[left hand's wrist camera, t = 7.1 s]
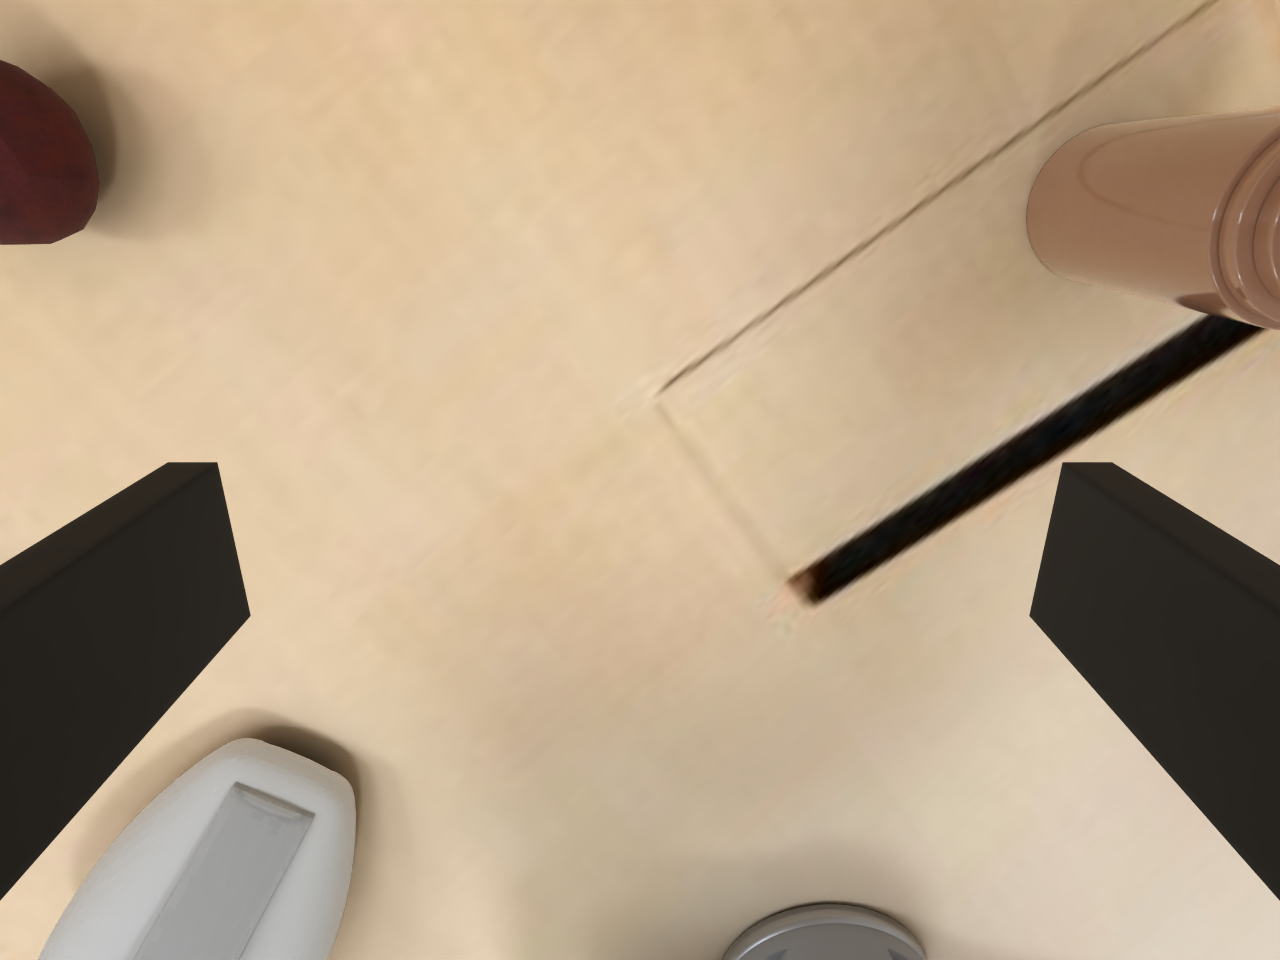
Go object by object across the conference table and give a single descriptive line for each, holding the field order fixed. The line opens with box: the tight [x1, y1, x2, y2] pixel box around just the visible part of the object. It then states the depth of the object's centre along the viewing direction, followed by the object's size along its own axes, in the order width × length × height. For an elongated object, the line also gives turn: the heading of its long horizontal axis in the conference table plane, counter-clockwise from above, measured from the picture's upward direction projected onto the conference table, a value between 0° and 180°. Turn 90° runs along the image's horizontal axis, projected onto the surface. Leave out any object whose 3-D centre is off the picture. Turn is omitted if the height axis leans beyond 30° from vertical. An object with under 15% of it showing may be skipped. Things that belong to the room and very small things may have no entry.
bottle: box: [1026, 106, 1280, 330], centre depth 28 cm, size 7×7×18 cm
